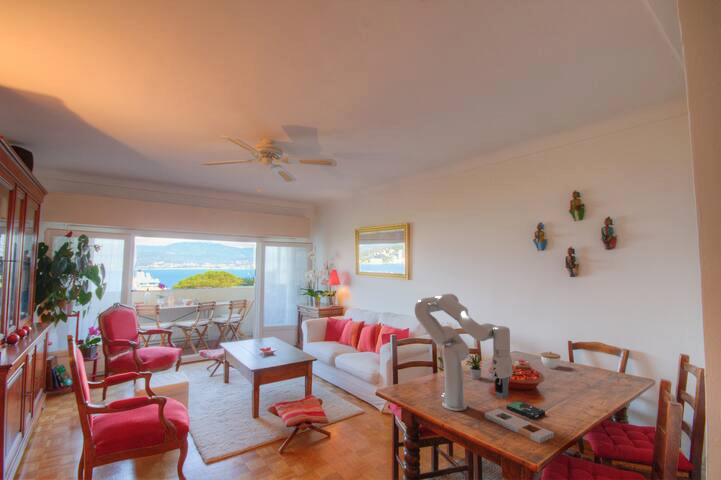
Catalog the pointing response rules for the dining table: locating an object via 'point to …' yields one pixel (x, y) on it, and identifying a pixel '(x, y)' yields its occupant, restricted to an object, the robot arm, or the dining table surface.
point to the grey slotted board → (519, 425)
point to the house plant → (475, 367)
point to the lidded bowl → (550, 360)
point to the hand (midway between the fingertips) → (501, 390)
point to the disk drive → (526, 410)
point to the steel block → (503, 389)
